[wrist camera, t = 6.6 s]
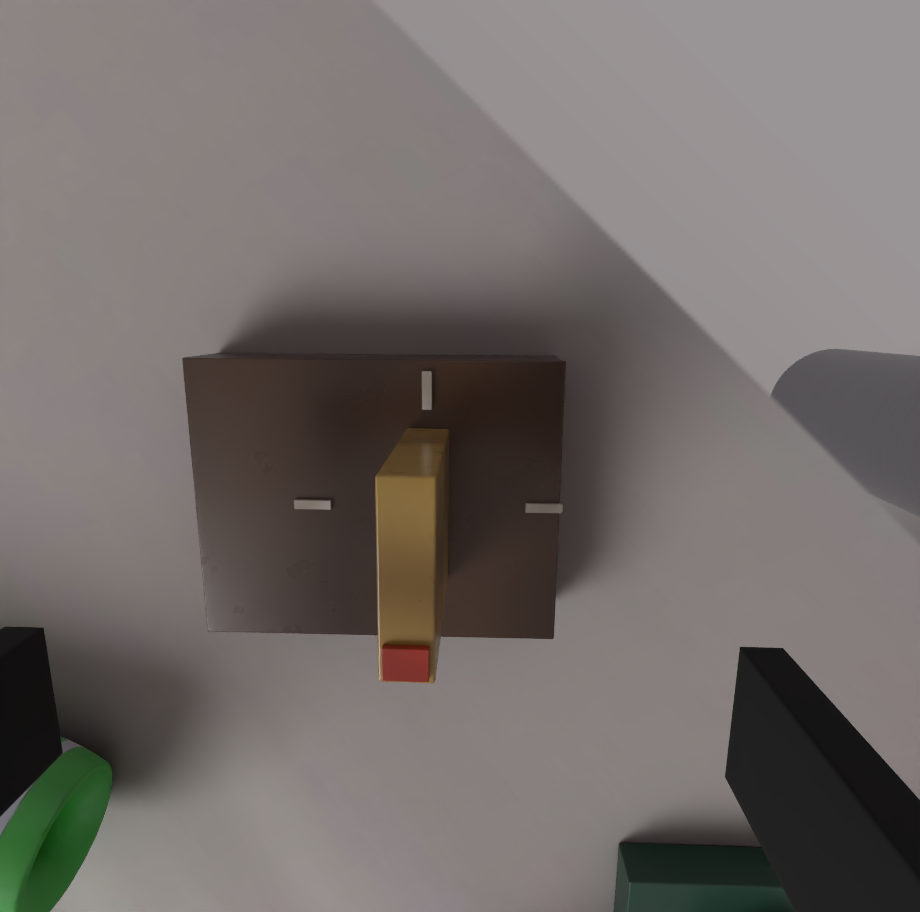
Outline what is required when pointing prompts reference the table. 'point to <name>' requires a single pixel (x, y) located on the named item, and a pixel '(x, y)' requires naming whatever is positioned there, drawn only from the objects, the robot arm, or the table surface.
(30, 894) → the speaker
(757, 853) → the green button panel
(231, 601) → the plate
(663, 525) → the table surface
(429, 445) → the gold block
